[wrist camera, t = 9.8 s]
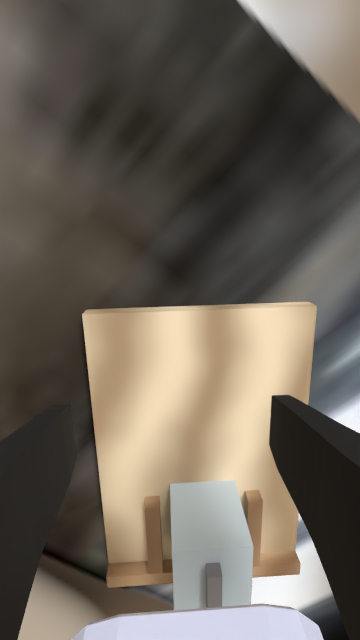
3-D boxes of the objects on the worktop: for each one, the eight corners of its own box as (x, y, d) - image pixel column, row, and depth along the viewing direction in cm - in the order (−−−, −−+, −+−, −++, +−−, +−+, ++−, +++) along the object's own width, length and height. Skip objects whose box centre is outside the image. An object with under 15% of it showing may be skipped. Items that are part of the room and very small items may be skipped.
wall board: (308, 301, 21) (324, 310, 19) (288, 546, 27) (299, 574, 24) (86, 309, 21) (77, 318, 19) (112, 558, 26) (107, 587, 24)
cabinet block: (234, 480, 23) (257, 560, 18) (233, 536, 24) (254, 627, 19) (169, 483, 23) (172, 565, 17) (172, 540, 24) (175, 634, 19)
